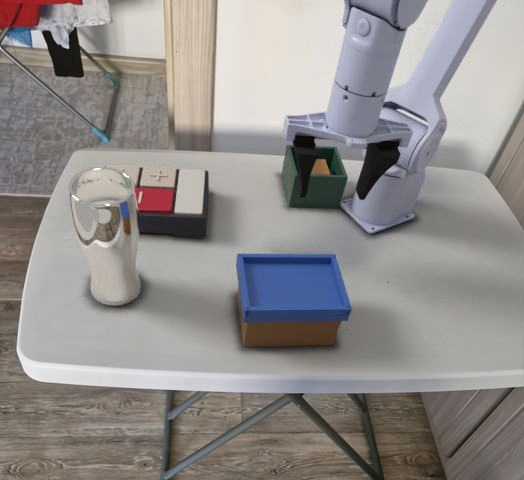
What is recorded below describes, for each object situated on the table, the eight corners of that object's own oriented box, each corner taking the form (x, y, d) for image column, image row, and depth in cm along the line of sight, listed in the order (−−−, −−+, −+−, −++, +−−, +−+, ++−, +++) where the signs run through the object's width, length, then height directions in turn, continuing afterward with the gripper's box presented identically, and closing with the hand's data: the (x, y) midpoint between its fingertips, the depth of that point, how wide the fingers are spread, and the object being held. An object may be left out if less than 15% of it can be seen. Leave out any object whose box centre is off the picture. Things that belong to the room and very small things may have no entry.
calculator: (103, 160, 75) (208, 165, 76) (108, 186, 79) (209, 190, 80) (89, 208, 68) (205, 213, 70) (95, 234, 72) (206, 238, 73)
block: (320, 181, 84) (325, 159, 81) (324, 197, 82) (330, 174, 79) (295, 180, 84) (300, 158, 80) (299, 196, 81) (304, 173, 78)
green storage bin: (328, 177, 86) (336, 146, 82) (339, 208, 81) (348, 177, 77) (281, 175, 85) (286, 144, 80) (288, 207, 80) (294, 175, 76)
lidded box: (323, 294, 69) (335, 254, 64) (337, 347, 64) (352, 309, 58) (232, 294, 67) (237, 253, 62) (239, 350, 62) (245, 310, 56)
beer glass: (143, 268, 68) (135, 165, 56) (145, 307, 64) (137, 206, 52) (87, 269, 67) (67, 165, 55) (86, 310, 63) (64, 207, 51)
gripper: (300, 97, 51) (278, 212, 62) (437, 107, 54) (394, 215, 64) (289, 64, 56) (270, 177, 66) (416, 75, 58) (379, 181, 69)
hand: (330, 194), depth 66 cm, fingers open, 7 cm apart
